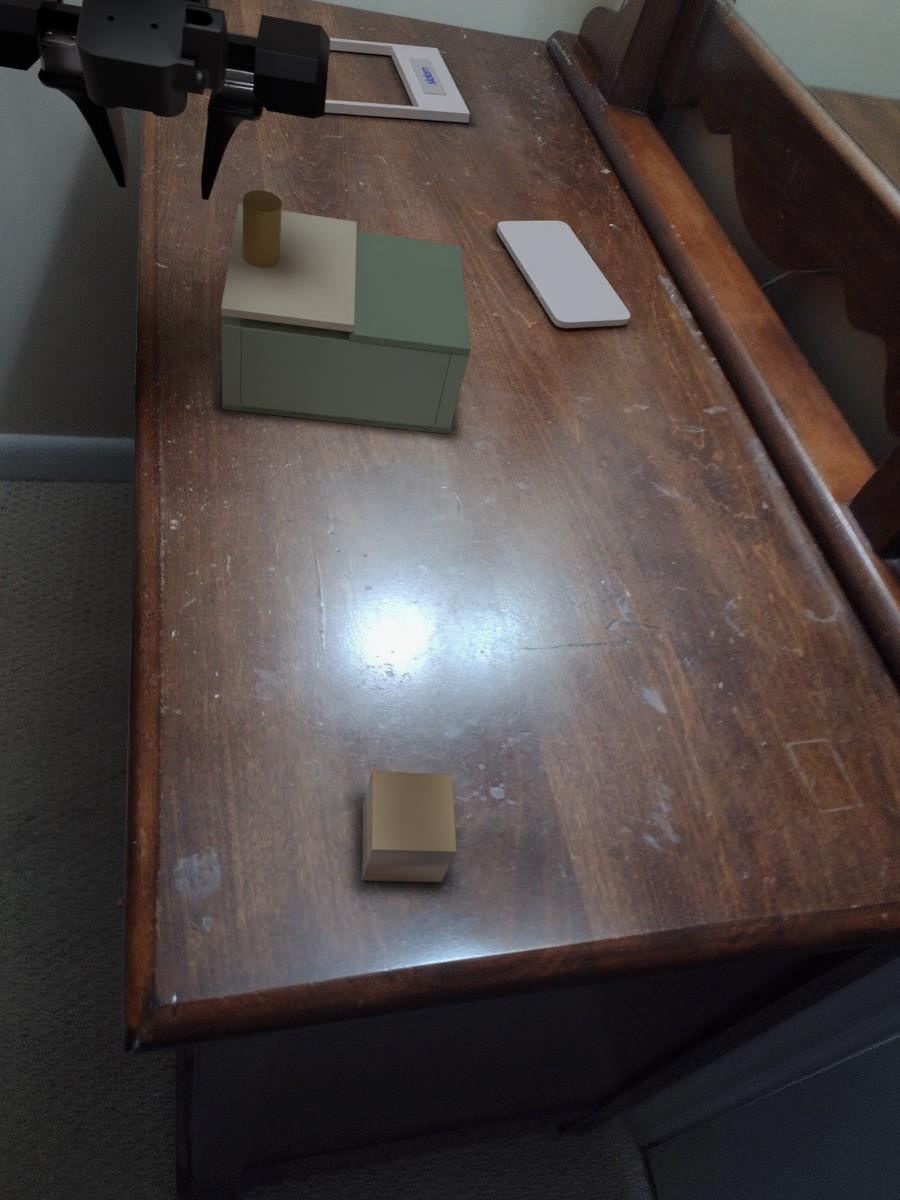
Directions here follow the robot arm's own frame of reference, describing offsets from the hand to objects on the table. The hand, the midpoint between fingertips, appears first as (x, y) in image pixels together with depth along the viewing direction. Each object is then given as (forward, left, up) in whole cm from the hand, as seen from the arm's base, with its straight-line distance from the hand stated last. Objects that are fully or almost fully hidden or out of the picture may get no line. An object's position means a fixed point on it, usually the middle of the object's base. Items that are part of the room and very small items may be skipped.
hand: (165, 190), depth 57 cm
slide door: (+8, 0, -4) cm, 9 cm away
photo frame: (+14, +47, -12) cm, 51 cm away
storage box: (+12, 0, -12) cm, 17 cm away
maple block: (+16, -37, -12) cm, 42 cm away
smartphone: (+31, +16, -12) cm, 37 cm away
